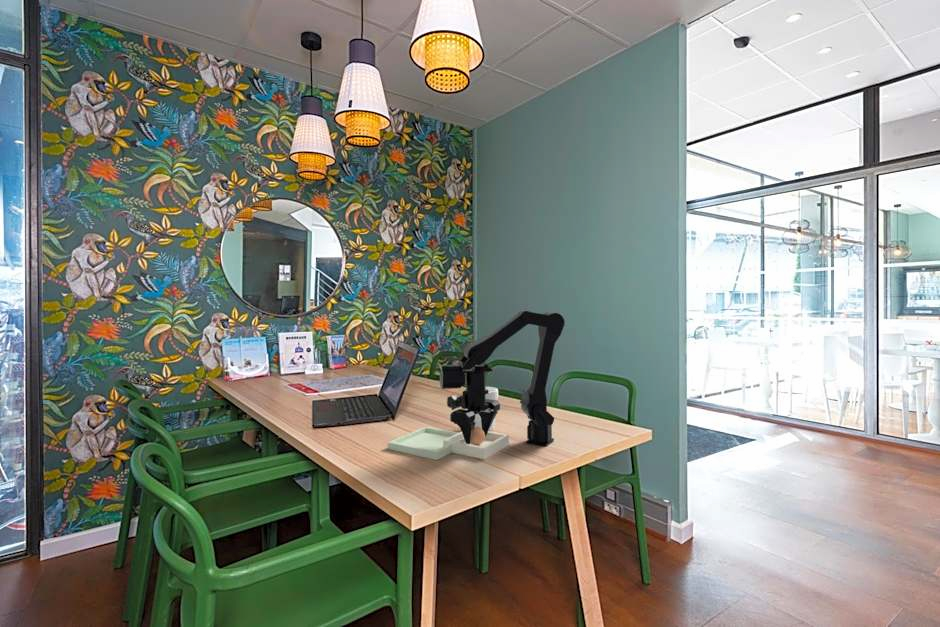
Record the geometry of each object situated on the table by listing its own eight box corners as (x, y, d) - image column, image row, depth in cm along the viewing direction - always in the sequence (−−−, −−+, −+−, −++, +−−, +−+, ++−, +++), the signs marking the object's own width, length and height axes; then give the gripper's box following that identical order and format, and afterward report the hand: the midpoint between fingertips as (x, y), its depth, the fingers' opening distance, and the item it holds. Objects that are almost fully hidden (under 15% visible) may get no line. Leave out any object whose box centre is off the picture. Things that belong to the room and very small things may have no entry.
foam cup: (465, 430, 150) (465, 391, 149) (478, 422, 158) (477, 386, 157) (491, 433, 145) (491, 393, 145) (503, 426, 153) (502, 388, 153)
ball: (488, 443, 133) (487, 426, 133) (479, 448, 129) (479, 430, 128) (473, 440, 135) (473, 424, 135) (464, 445, 131) (464, 428, 131)
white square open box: (508, 444, 134) (508, 434, 134) (484, 459, 122) (484, 448, 122) (469, 437, 142) (469, 427, 142) (443, 450, 130) (443, 440, 130)
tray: (472, 441, 138) (472, 435, 137) (436, 460, 122) (436, 452, 122) (425, 432, 147) (425, 426, 147) (387, 448, 132) (387, 442, 132)
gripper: (469, 379, 144) (470, 427, 144) (434, 390, 128) (435, 444, 128) (500, 382, 137) (501, 433, 138) (467, 394, 122) (468, 451, 122)
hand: (476, 439), depth 132 cm, fingers open, 9 cm apart
